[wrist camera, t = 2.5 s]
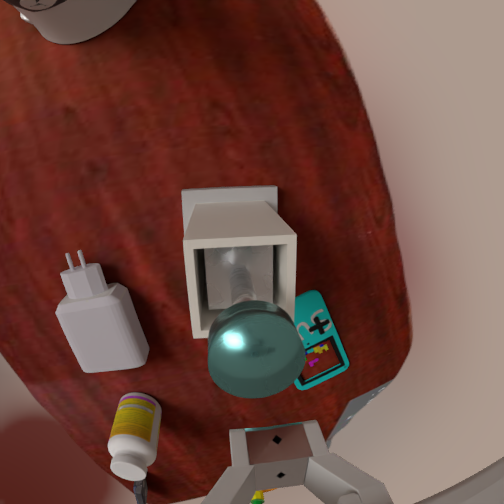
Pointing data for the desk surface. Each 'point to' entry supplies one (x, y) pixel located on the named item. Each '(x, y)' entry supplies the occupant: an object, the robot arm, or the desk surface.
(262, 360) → the plunger
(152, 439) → the supplement bottle
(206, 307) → the press housing
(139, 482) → the mini dv tape
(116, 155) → the desk surface
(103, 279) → the charger
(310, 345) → the handheld gaming console
